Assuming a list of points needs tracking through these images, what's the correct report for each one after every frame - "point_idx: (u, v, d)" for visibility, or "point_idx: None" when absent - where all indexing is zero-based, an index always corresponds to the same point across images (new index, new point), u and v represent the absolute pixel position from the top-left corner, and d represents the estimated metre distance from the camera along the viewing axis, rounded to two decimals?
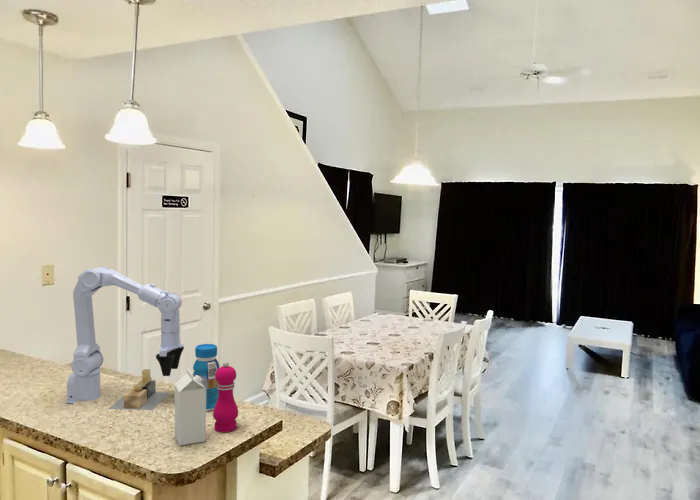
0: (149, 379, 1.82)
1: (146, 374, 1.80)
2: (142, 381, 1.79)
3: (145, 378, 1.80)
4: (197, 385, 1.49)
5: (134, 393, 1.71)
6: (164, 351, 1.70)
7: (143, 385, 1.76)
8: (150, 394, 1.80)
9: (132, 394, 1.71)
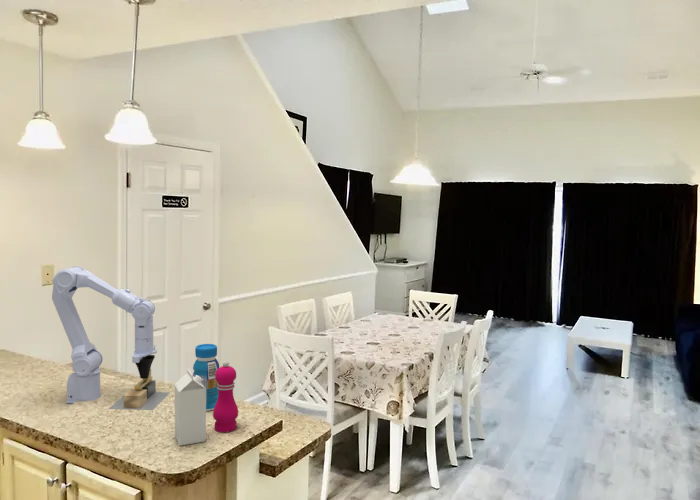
0: (150, 378, 1.82)
1: None
2: (143, 380, 1.79)
3: None
4: (197, 385, 1.49)
5: (134, 393, 1.71)
6: (137, 357, 1.72)
7: (144, 384, 1.77)
8: (150, 394, 1.80)
9: (132, 394, 1.71)
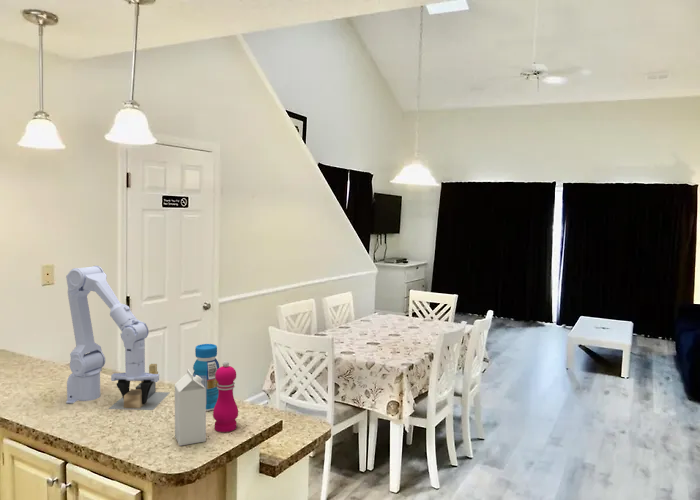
0: (156, 373, 1.88)
1: (153, 368, 1.86)
2: None
3: (152, 372, 1.87)
4: (197, 385, 1.49)
5: (134, 393, 1.71)
6: None
7: None
8: (150, 394, 1.80)
9: (132, 394, 1.71)
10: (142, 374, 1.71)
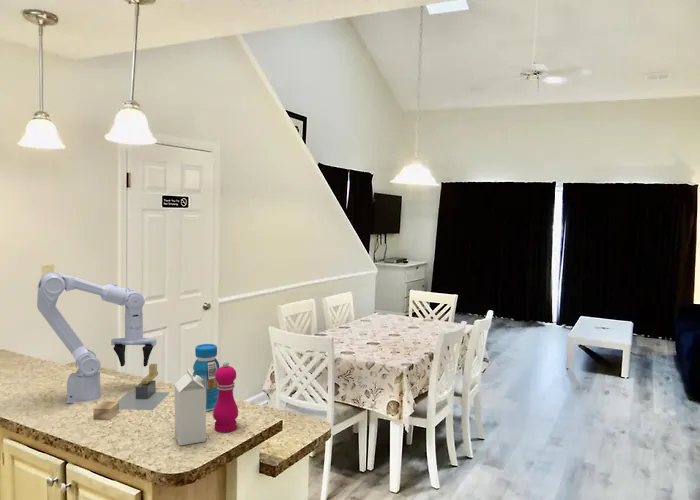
0: (156, 373, 1.88)
1: (153, 368, 1.86)
2: (149, 375, 1.85)
3: (152, 372, 1.87)
4: (197, 385, 1.49)
5: (104, 406, 1.62)
6: None
7: (150, 379, 1.83)
8: (150, 394, 1.80)
9: (102, 407, 1.61)
10: (140, 338, 1.85)
